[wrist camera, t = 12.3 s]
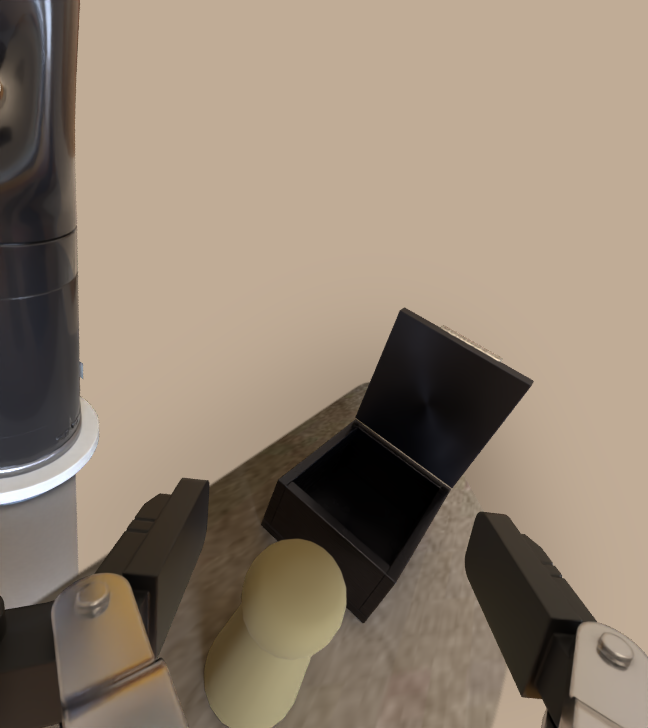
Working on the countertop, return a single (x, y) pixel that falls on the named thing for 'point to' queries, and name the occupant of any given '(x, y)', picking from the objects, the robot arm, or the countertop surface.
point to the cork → (274, 633)
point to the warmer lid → (439, 395)
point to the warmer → (358, 510)
